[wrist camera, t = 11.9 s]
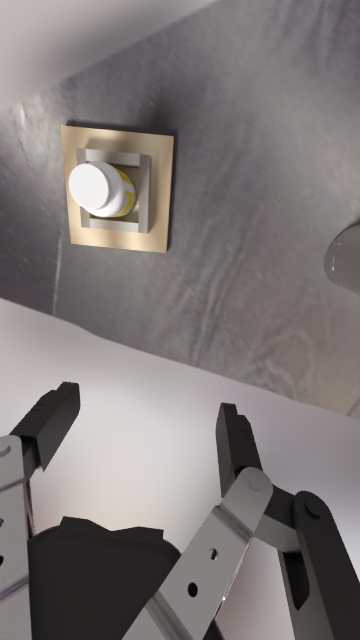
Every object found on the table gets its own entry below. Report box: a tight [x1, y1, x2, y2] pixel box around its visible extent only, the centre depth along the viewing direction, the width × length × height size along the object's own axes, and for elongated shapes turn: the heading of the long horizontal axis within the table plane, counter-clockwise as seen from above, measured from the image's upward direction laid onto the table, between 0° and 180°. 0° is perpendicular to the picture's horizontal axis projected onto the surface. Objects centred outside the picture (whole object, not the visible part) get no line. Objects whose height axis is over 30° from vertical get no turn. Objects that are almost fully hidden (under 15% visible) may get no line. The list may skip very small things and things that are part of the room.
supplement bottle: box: [69, 161, 137, 217], centre depth 27 cm, size 5×5×10 cm
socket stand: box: [61, 125, 174, 253], centre depth 32 cm, size 14×14×3 cm
